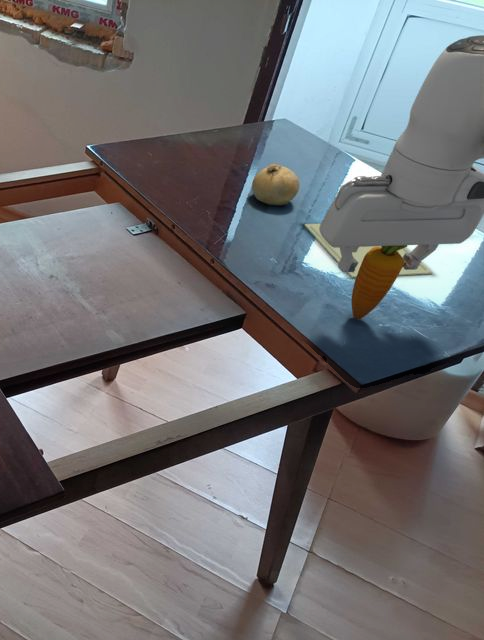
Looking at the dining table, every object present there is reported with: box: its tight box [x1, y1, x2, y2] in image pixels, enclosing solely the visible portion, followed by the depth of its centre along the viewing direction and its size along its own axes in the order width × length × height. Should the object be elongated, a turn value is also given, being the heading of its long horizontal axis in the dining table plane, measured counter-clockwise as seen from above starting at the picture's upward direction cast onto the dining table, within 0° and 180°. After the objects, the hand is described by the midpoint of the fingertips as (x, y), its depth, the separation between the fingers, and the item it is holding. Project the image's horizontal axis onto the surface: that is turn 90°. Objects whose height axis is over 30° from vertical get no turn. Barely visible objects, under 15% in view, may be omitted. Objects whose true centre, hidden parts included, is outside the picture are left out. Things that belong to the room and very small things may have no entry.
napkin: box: [304, 222, 433, 279], centre depth 114 cm, size 16×14×1 cm
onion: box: [251, 162, 301, 206], centre depth 123 cm, size 8×8×7 cm
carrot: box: [350, 245, 408, 321], centre depth 94 cm, size 5×5×15 cm
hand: (376, 268), depth 94 cm, fingers open, 8 cm apart
